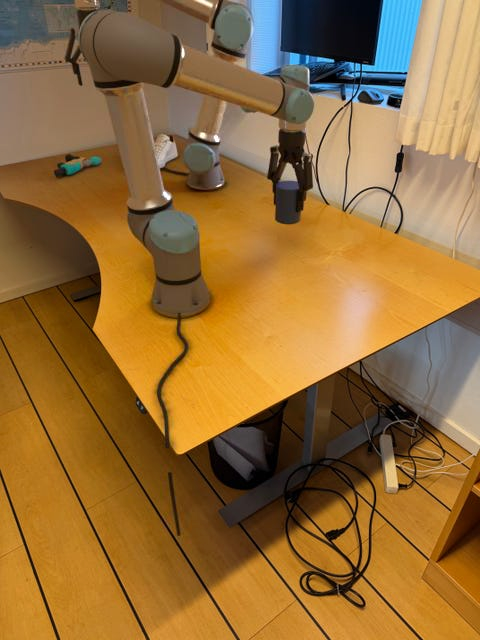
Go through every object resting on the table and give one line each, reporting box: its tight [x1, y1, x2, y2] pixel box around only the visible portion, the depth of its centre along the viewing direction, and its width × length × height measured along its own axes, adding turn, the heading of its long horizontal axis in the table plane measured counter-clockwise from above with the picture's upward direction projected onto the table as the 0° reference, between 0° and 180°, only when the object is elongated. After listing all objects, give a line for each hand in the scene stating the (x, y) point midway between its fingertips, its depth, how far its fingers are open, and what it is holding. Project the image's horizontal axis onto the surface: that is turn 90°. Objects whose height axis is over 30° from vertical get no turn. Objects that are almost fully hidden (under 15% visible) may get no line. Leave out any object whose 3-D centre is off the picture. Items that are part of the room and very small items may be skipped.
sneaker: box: [154, 133, 179, 169], centre depth 214 cm, size 10×29×12 cm, turn 163°
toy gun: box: [53, 153, 102, 178], centre depth 211 cm, size 4×26×15 cm
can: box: [274, 180, 302, 226], centre depth 144 cm, size 8×8×11 cm
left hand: (288, 207), depth 144 cm, fingers closed on can, 8 cm apart
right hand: (100, 83), depth 162 cm, fingers open, 13 cm apart
